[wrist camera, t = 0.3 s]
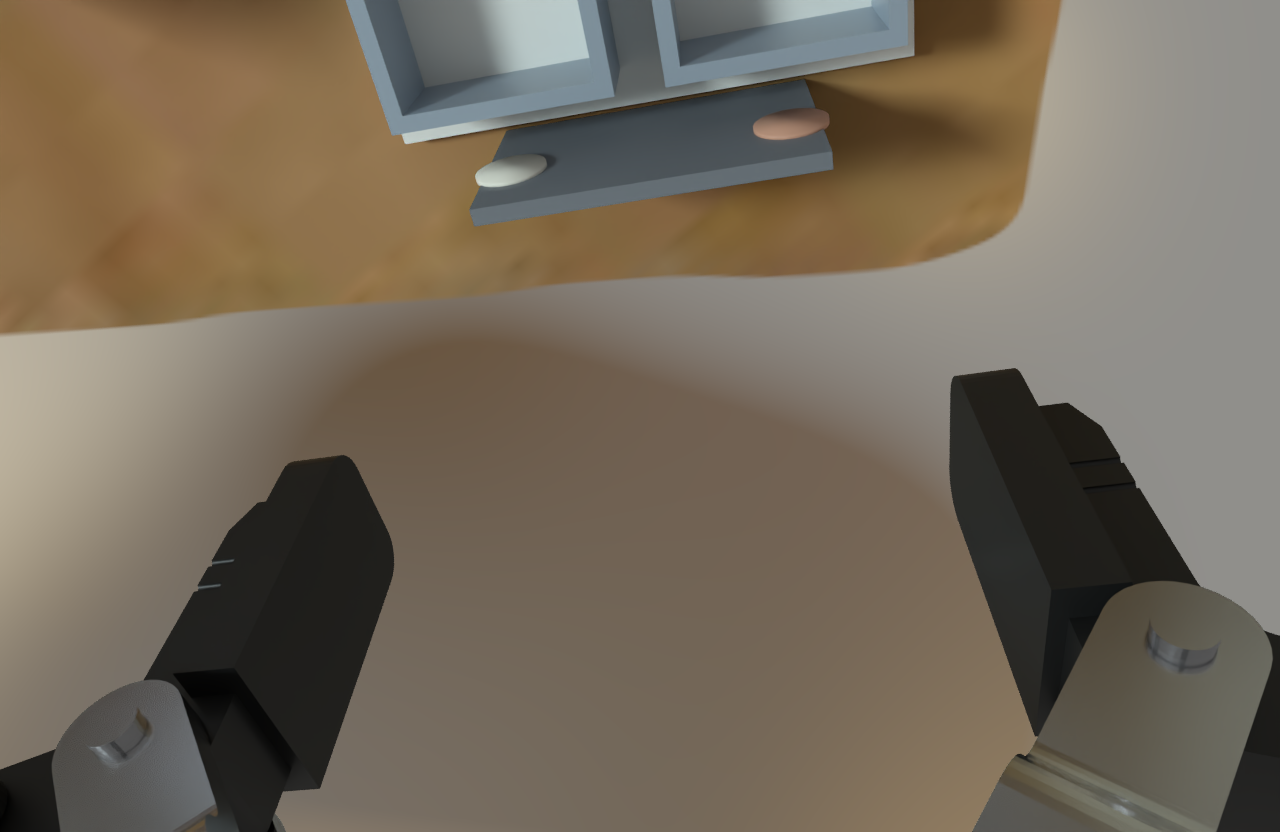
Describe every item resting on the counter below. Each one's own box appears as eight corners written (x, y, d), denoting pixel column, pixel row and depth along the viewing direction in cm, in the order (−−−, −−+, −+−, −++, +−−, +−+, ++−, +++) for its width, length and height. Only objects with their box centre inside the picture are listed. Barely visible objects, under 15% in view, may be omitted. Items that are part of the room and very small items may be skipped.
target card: (498, 128, 37) (459, 207, 30) (812, 73, 35) (841, 145, 29) (503, 146, 37) (466, 227, 31) (813, 93, 36) (842, 167, 29)
